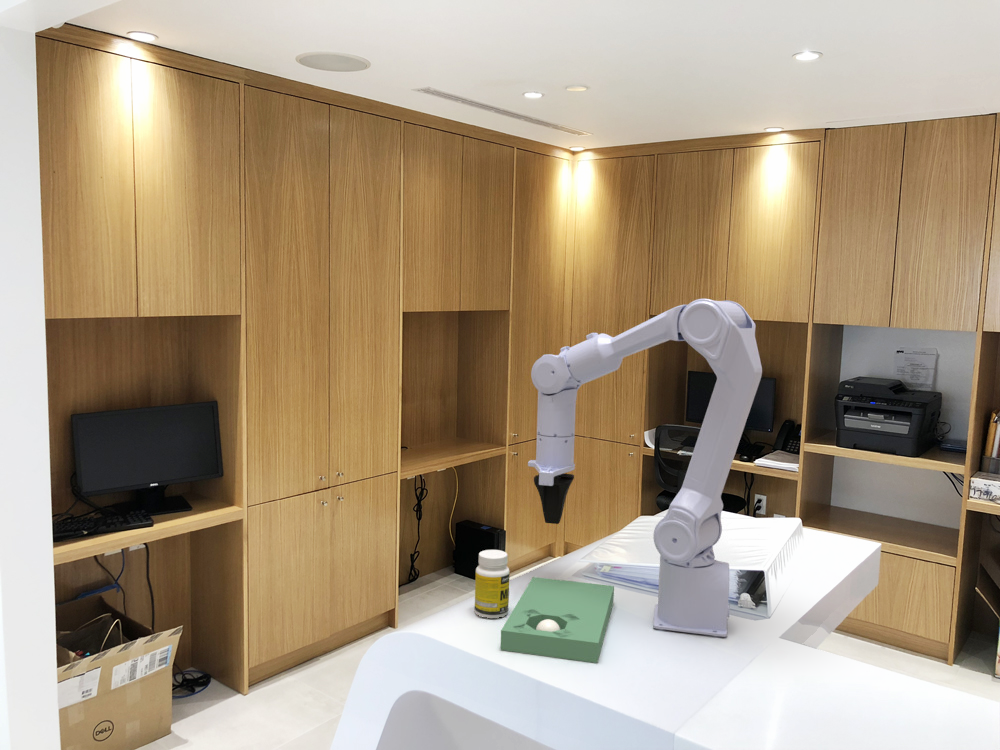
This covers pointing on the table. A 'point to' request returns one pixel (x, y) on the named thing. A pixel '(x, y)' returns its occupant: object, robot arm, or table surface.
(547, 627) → the ball
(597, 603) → the green
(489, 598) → the supplement bottle
